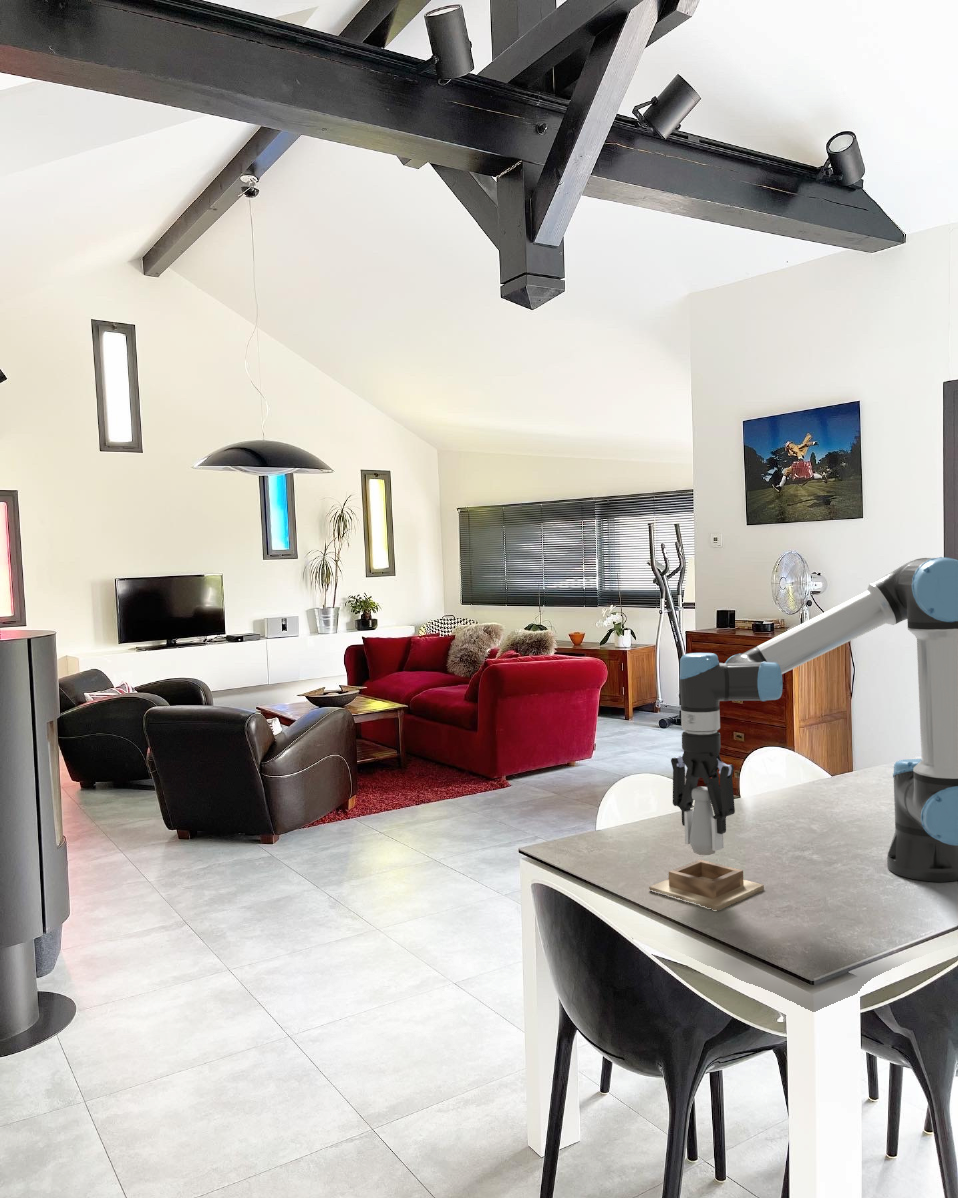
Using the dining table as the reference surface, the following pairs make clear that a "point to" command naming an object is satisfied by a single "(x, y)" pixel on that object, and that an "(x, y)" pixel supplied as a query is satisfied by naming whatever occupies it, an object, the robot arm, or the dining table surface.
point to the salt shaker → (701, 822)
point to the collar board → (708, 884)
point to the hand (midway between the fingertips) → (704, 845)
